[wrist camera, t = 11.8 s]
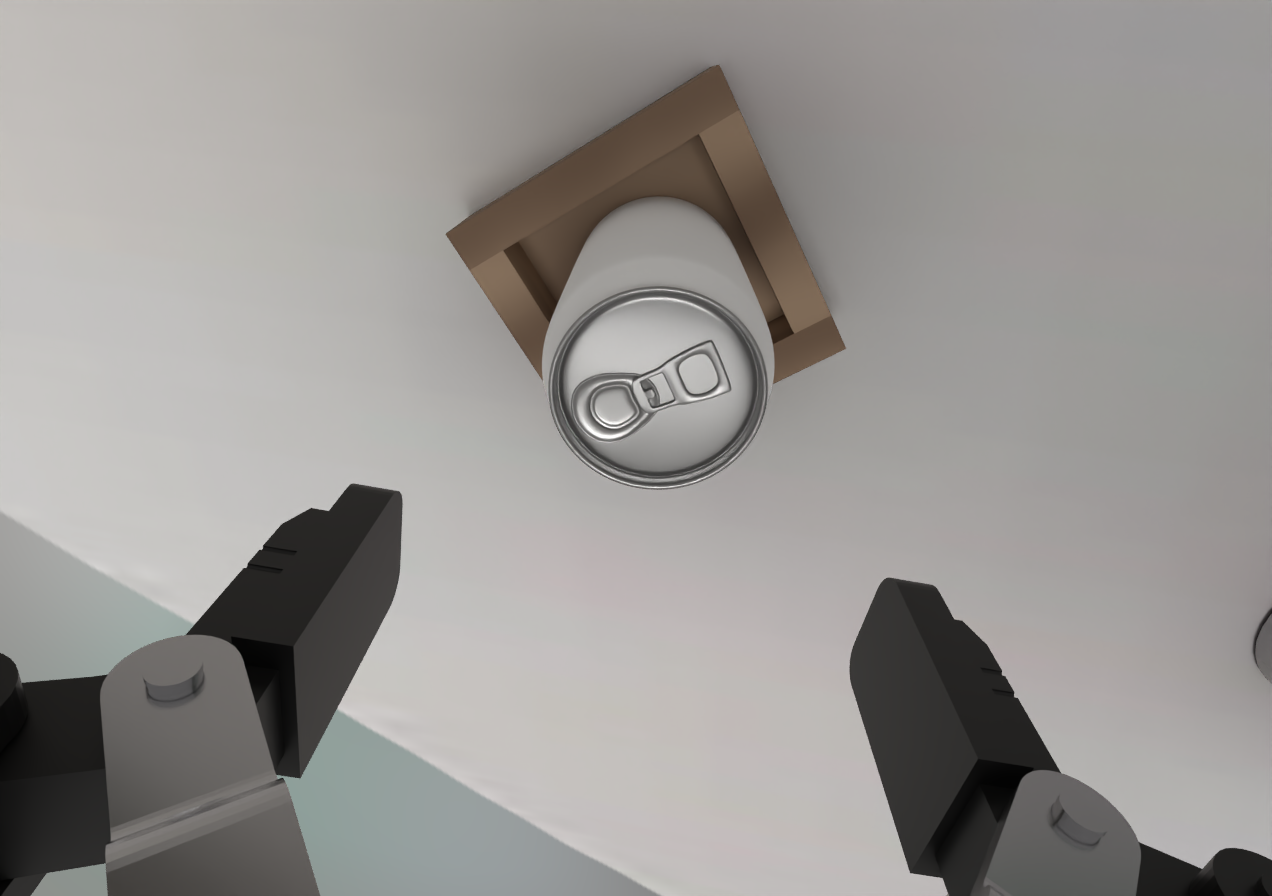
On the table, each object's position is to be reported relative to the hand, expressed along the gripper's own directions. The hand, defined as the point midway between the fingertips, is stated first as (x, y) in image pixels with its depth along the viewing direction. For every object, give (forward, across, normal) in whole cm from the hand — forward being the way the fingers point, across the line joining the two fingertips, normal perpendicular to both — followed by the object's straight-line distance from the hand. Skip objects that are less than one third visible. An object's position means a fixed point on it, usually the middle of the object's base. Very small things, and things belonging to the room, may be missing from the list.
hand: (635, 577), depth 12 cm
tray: (+20, 0, 0) cm, 20 cm away
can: (+19, 0, 0) cm, 19 cm away
